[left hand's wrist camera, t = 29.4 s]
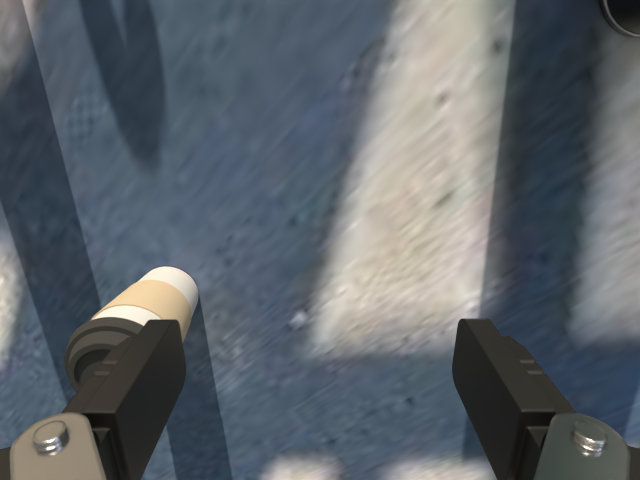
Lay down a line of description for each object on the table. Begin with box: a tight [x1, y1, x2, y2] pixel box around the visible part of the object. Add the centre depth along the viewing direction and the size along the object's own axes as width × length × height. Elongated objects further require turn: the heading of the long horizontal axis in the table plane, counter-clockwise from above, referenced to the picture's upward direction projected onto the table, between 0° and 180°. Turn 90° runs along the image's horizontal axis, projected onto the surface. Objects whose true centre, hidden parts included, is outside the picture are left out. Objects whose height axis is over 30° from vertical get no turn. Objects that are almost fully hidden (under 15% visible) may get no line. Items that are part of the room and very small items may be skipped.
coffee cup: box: [65, 267, 199, 392], centre depth 40 cm, size 9×9×15 cm
